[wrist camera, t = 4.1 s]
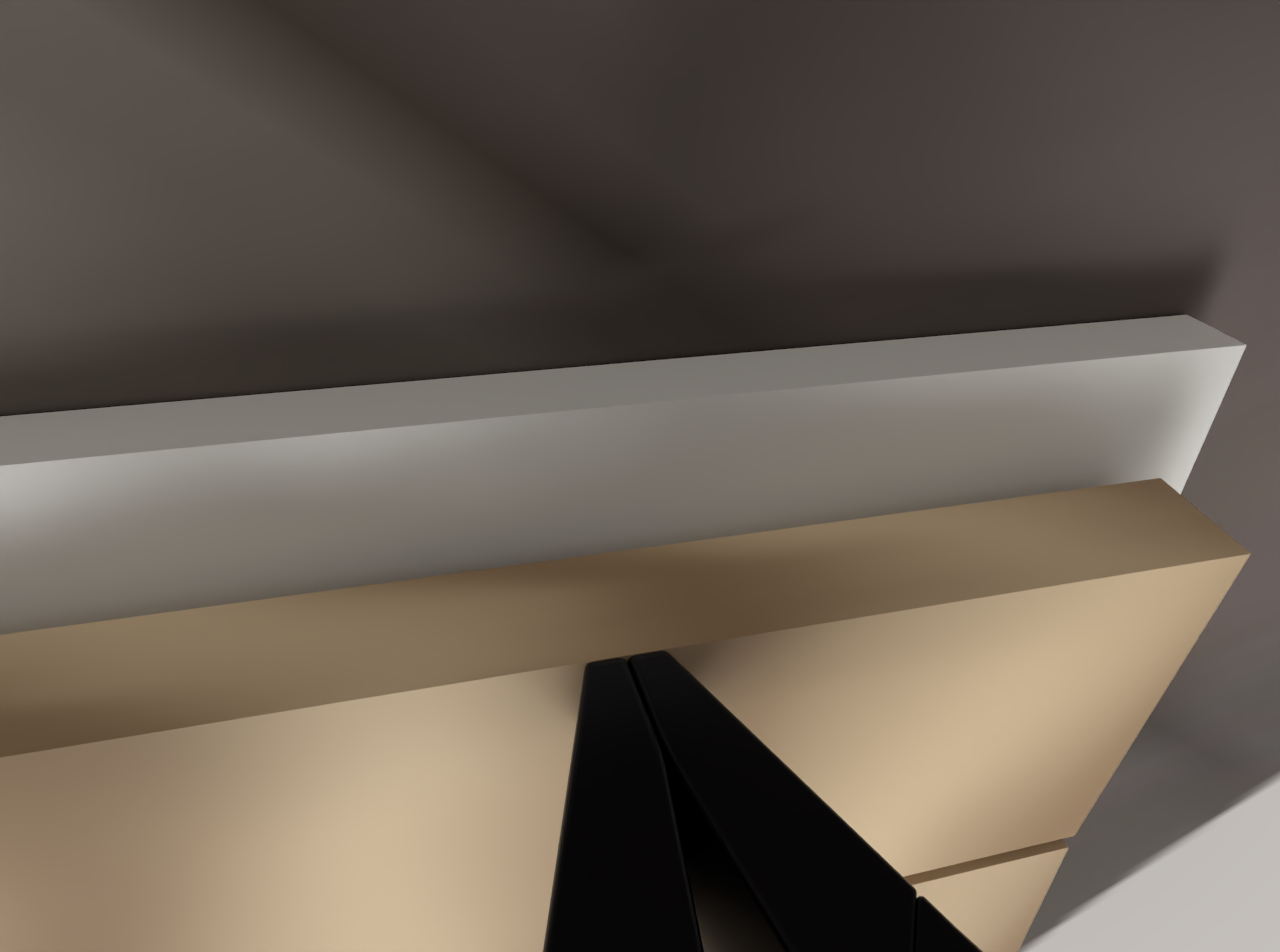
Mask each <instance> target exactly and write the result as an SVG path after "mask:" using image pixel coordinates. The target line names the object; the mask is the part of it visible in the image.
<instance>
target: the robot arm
mask: <svg viewBox="0 0 1280 952" xmlns="http://www.w3.org/2000/svg"><path fill="white" fill-rule="evenodd" d="M543 952H983V951H982V950H980V949H979V948H978V947H977V946H976V945H975V944H974V943H973V942H972V941H971V940H970V939H968V938H967V937H966V936H965V935H964V934H963V933H962V932H961V931H960V930H959V929H957V928H956V927H955V926H954V925H953V924H952V923H951V922H950V921H949V920H948V919H947V918H946V917H945V916H944V915H943V914H942V913H941V912H940V911H939V910H938V909H937V908H936V907H935V906H933V905H932V904H931V903H930V902H929V901H928V900H927V899H926V898H925V897H924V896H918V897H917V891H916V889H915V888H914V887H913V886H912V885H911V884H910V883H909V882H908V881H907V880H906V879H905V878H904V877H903V876H902V875H901V874H900V873H899V872H898V871H897V870H896V869H894V868H893V867H892V866H891V865H890V864H889V863H888V862H887V861H886V860H885V859H884V858H883V857H882V856H881V855H880V854H879V853H878V852H877V851H876V850H875V849H874V848H873V847H871V846H870V845H869V844H868V843H867V842H866V841H865V840H864V839H863V838H862V837H861V836H860V835H859V834H858V833H857V832H856V831H855V830H854V829H853V828H852V827H851V826H850V825H849V824H847V823H846V822H845V821H844V820H843V819H842V818H841V817H840V816H839V815H838V814H837V813H836V812H835V811H834V810H833V809H832V808H831V807H830V806H829V805H828V804H827V803H826V802H824V801H823V800H822V799H821V798H820V797H819V796H818V795H817V794H816V793H815V792H814V791H813V790H812V789H811V788H810V787H809V786H808V785H807V784H806V783H805V782H804V781H803V780H802V779H800V778H799V777H798V776H797V775H796V774H795V773H794V772H793V771H792V770H791V769H790V768H789V767H788V766H787V765H786V764H785V763H784V762H783V761H782V760H781V759H780V758H779V757H777V756H776V755H775V754H774V753H773V752H772V751H771V750H770V749H769V748H768V747H767V746H766V745H765V744H764V743H763V742H762V741H761V740H760V739H759V738H758V737H757V736H756V735H755V734H753V733H752V732H751V731H750V730H749V729H748V728H747V727H746V726H745V725H744V724H743V723H742V722H741V721H740V720H739V719H738V718H737V717H736V716H735V715H734V714H733V713H732V712H730V711H729V710H728V709H727V708H726V707H725V706H724V705H723V704H722V703H721V702H720V701H719V700H718V699H717V698H716V697H715V696H714V695H713V694H712V693H711V692H710V691H709V690H708V689H706V688H705V687H704V686H703V685H702V684H701V683H700V682H699V681H698V680H697V679H696V678H695V677H694V676H693V675H692V674H691V673H690V672H689V671H688V670H687V669H686V668H685V667H683V666H682V665H681V664H680V663H679V662H678V661H677V660H676V659H675V658H674V657H673V656H672V655H671V654H670V653H669V652H667V651H657V652H651V653H645V654H638V655H634V656H632V657H630V658H629V659H628V661H626V660H625V659H624V658H614V659H608V660H602V661H596V662H591V663H588V664H587V665H586V666H585V669H584V675H583V681H582V688H581V695H580V702H579V709H578V715H577V722H576V729H575V736H574V743H573V749H572V756H571V763H570V770H569V777H568V783H567V790H566V797H565V804H564V810H563V817H562V824H561V831H560V838H559V844H558V851H557V858H556V865H555V872H554V878H553V885H552V892H551V899H550V906H549V912H548V919H547V926H546V933H545V940H544V946H543Z"/></svg>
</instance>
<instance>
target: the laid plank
mask: <svg viewBox="0 0 1280 952" xmlns="http://www.w3.org/2000/svg"><path fill="white" fill-rule="evenodd" d="M1068 848H1069V847H1068V846H1067V844H1066V843H1065V841H1064V840H1063V839H1059V840H1055V841H1051V842H1046V843H1042V844H1038V845H1034V846H1030V847H1026V848H1021V849H1017V850H1013V851H1009V852H1005V853H1000V854H996V855H992V856H988V857H984V858H979V859H975V860H971V861H967V862H963V863H958V864H954V865H950V866H946V867H942V868H938V869H933V870H929V871H925V872H921V873H917V874H912V875H908V876H904V878H905V879H906V880H907V881H908V882H909V883H910V884H911V885H912V886H913V887H914V888H915V889H916V891H917V897H918V896H924V897H925V898H926V899H927V900H928V901H929V902H930V903H931V904H932V905H933V906H935V907H936V908H937V909H938V910H939V911H940V912H941V913H942V914H943V915H944V916H945V917H946V918H947V919H948V920H949V921H950V922H951V923H952V924H953V925H954V926H955V927H956V928H957V929H959V930H960V931H961V932H962V933H963V934H964V935H965V936H966V937H967V938H968V939H970V940H971V941H972V942H973V943H974V944H975V945H976V946H977V947H978V948H979V949H980V950H982V951H983V952H1018V950H1019V948H1020V946H1021V944H1022V942H1023V940H1024V938H1025V936H1026V934H1027V932H1028V930H1029V928H1030V926H1031V924H1032V922H1033V920H1034V918H1035V915H1036V913H1037V911H1038V909H1039V907H1040V905H1041V903H1042V901H1043V899H1044V897H1045V895H1046V893H1047V891H1048V889H1049V887H1050V885H1051V883H1052V881H1053V879H1054V877H1055V875H1056V872H1057V870H1058V868H1059V866H1060V864H1061V862H1062V860H1063V858H1064V856H1065V854H1066V852H1067V850H1068Z"/></svg>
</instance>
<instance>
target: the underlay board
mask: <svg viewBox="0 0 1280 952" xmlns="http://www.w3.org/2000/svg"><path fill="white" fill-rule="evenodd" d="M1245 348H1246V344H1244V343H1242V342H1240V341H1238V340H1236V339H1234V338H1232V337H1230V336H1228V335H1226V334H1224V333H1222V332H1220V331H1218V330H1216V329H1214V328H1213V327H1211V326H1209V325H1207V324H1205V323H1203V322H1201V321H1199V320H1197V319H1195V318H1193V317H1191V316H1189V315H1177V316H1165V317H1154V318H1142V319H1130V320H1119V321H1107V322H1095V323H1084V324H1072V325H1060V326H1049V327H1037V328H1025V329H1014V330H1002V331H990V332H979V333H967V334H956V335H944V336H932V337H921V338H909V339H897V340H886V341H874V342H862V343H851V344H839V345H827V346H816V347H804V348H793V349H781V350H769V351H758V352H746V353H734V354H723V355H711V356H699V357H688V358H676V359H664V360H653V361H641V362H630V363H618V364H606V365H595V366H583V367H571V368H560V369H548V370H536V371H525V372H513V373H501V374H490V375H478V376H466V377H455V378H443V379H432V380H420V381H408V382H397V383H385V384H373V385H362V386H350V387H338V388H327V389H315V390H303V391H292V392H280V393H269V394H257V395H245V396H234V397H222V398H210V399H199V400H187V401H175V402H164V403H152V404H140V405H129V406H117V407H105V408H94V409H82V410H71V411H59V412H47V413H36V414H24V415H12V416H1V417H0V635H3V634H10V633H17V632H25V631H32V630H40V629H47V628H54V627H62V626H69V625H77V624H84V623H91V622H99V621H106V620H114V619H121V618H128V617H136V616H143V615H151V614H158V613H165V612H173V611H180V610H188V609H195V608H202V607H210V606H217V605H225V604H232V603H239V602H247V601H254V600H261V599H269V598H276V597H284V596H291V595H298V594H306V593H313V592H321V591H328V590H335V589H343V588H350V587H358V586H365V585H372V584H380V583H387V582H395V581H402V580H409V579H417V578H424V577H432V576H439V575H446V574H454V573H461V572H469V571H476V570H483V569H491V568H498V567H505V566H513V565H520V564H528V563H535V562H542V561H550V560H557V559H565V558H572V557H579V556H587V555H594V554H602V553H609V552H616V551H624V550H631V549H639V548H646V547H653V546H661V545H668V544H676V543H683V542H690V541H698V540H705V539H713V538H720V537H727V536H735V535H742V534H749V533H757V532H764V531H772V530H779V529H786V528H794V527H801V526H809V525H816V524H823V523H831V522H838V521H846V520H853V519H860V518H868V517H875V516H883V515H890V514H897V513H905V512H912V511H920V510H927V509H934V508H942V507H949V506H957V505H964V504H971V503H979V502H986V501H994V500H1001V499H1008V498H1016V497H1023V496H1030V495H1038V494H1045V493H1053V492H1060V491H1067V490H1075V489H1082V488H1090V487H1097V486H1104V485H1112V484H1119V483H1127V482H1134V481H1141V480H1149V479H1156V478H1161V479H1163V480H1164V481H1165V482H1166V483H1167V484H1168V485H1170V486H1171V487H1172V488H1173V489H1174V490H1176V491H1177V492H1178V493H1179V494H1180V495H1181V492H1182V490H1183V488H1184V485H1185V483H1186V481H1187V479H1188V476H1189V474H1190V472H1191V470H1192V467H1193V465H1194V463H1195V461H1196V458H1197V456H1198V454H1199V452H1200V449H1201V447H1202V445H1203V443H1204V440H1205V438H1206V436H1207V433H1208V431H1209V429H1210V427H1211V424H1212V422H1213V420H1214V418H1215V415H1216V413H1217V411H1218V409H1219V406H1220V404H1221V402H1222V400H1223V397H1224V395H1225V393H1226V391H1227V388H1228V386H1229V384H1230V382H1231V379H1232V377H1233V375H1234V372H1235V370H1236V368H1237V366H1238V363H1239V361H1240V359H1241V357H1242V354H1243V352H1244V350H1245Z"/></svg>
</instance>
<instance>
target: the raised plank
mask: <svg viewBox="0 0 1280 952" xmlns="http://www.w3.org/2000/svg"><path fill="white" fill-rule="evenodd" d="M1249 556H1250V553H1249V552H1248V551H1247V550H1246V549H1245V548H1243V547H1242V546H1241V545H1240V544H1239V543H1237V542H1236V541H1235V540H1234V539H1233V538H1231V537H1230V536H1229V535H1228V534H1227V533H1226V532H1224V531H1223V530H1222V529H1221V528H1220V527H1218V526H1217V525H1216V524H1215V523H1214V522H1212V521H1211V520H1210V519H1209V518H1208V517H1207V516H1205V515H1204V514H1203V513H1202V512H1201V511H1199V510H1198V509H1197V508H1196V507H1195V506H1193V505H1192V504H1191V503H1190V502H1189V501H1187V500H1186V499H1185V498H1184V497H1183V496H1182V495H1180V494H1179V493H1178V492H1177V491H1176V490H1174V489H1173V488H1172V487H1171V486H1170V485H1168V484H1167V483H1166V482H1165V481H1164V480H1163V479H1161V478H1156V479H1149V480H1141V481H1134V482H1127V483H1119V484H1112V485H1104V486H1097V487H1090V488H1082V489H1075V490H1067V491H1060V492H1053V493H1045V494H1038V495H1030V496H1023V497H1016V498H1008V499H1001V500H994V501H986V502H979V503H971V504H964V505H957V506H949V507H942V508H934V509H927V510H920V511H912V512H905V513H897V514H890V515H883V516H875V517H868V518H860V519H853V520H846V521H838V522H831V523H823V524H816V525H809V526H801V527H794V528H786V529H779V530H772V531H764V532H757V533H749V534H742V535H735V536H727V537H720V538H713V539H705V540H698V541H690V542H683V543H676V544H668V545H661V546H653V547H646V548H639V549H631V550H624V551H616V552H609V553H602V554H594V555H587V556H579V557H572V558H565V559H557V560H550V561H542V562H535V563H528V564H520V565H513V566H505V567H498V568H491V569H483V570H476V571H469V572H461V573H454V574H446V575H439V576H432V577H424V578H417V579H409V580H402V581H395V582H387V583H380V584H372V585H365V586H358V587H350V588H343V589H335V590H328V591H321V592H313V593H306V594H298V595H291V596H284V597H276V598H269V599H261V600H254V601H247V602H239V603H232V604H225V605H217V606H210V607H202V608H195V609H188V610H180V611H173V612H165V613H158V614H151V615H143V616H136V617H128V618H121V619H114V620H106V621H99V622H91V623H84V624H77V625H69V626H62V627H54V628H47V629H40V630H32V631H25V632H17V633H10V634H3V635H0V952H543V946H544V940H545V933H546V926H547V919H548V912H549V906H550V899H551V892H552V885H553V878H554V872H555V865H556V858H557V851H558V844H559V838H560V831H561V824H562V817H563V810H564V804H565V797H566V790H567V783H568V777H569V770H570V763H571V756H572V749H573V743H574V736H575V729H576V722H577V715H578V709H579V702H580V695H581V688H582V681H583V675H584V669H585V666H586V665H587V664H588V663H591V662H596V661H602V660H608V659H614V658H624V659H625V660H626V661H628V659H629V658H630V657H632V656H634V655H638V654H645V653H651V652H657V651H667V652H669V653H670V654H671V655H672V656H673V657H674V658H675V659H676V660H677V661H678V662H679V663H680V664H681V665H682V666H683V667H685V668H686V669H687V670H688V671H689V672H690V673H691V674H692V675H693V676H694V677H695V678H696V679H697V680H698V681H699V682H700V683H701V684H702V685H703V686H704V687H705V688H706V689H708V690H709V691H710V692H711V693H712V694H713V695H714V696H715V697H716V698H717V699H718V700H719V701H720V702H721V703H722V704H723V705H724V706H725V707H726V708H727V709H728V710H729V711H730V712H732V713H733V714H734V715H735V716H736V717H737V718H738V719H739V720H740V721H741V722H742V723H743V724H744V725H745V726H746V727H747V728H748V729H749V730H750V731H751V732H752V733H753V734H755V735H756V736H757V737H758V738H759V739H760V740H761V741H762V742H763V743H764V744H765V745H766V746H767V747H768V748H769V749H770V750H771V751H772V752H773V753H774V754H775V755H776V756H777V757H779V758H780V759H781V760H782V761H783V762H784V763H785V764H786V765H787V766H788V767H789V768H790V769H791V770H792V771H793V772H794V773H795V774H796V775H797V776H798V777H799V778H800V779H802V780H803V781H804V782H805V783H806V784H807V785H808V786H809V787H810V788H811V789H812V790H813V791H814V792H815V793H816V794H817V795H818V796H819V797H820V798H821V799H822V800H823V801H824V802H826V803H827V804H828V805H829V806H830V807H831V808H832V809H833V810H834V811H835V812H836V813H837V814H838V815H839V816H840V817H841V818H842V819H843V820H844V821H845V822H846V823H847V824H849V825H850V826H851V827H852V828H853V829H854V830H855V831H856V832H857V833H858V834H859V835H860V836H861V837H862V838H863V839H864V840H865V841H866V842H867V843H868V844H869V845H870V846H871V847H873V848H874V849H875V850H876V851H877V852H878V853H879V854H880V855H881V856H882V857H883V858H884V859H885V860H886V861H887V862H888V863H889V864H890V865H891V866H892V867H893V868H894V869H896V870H897V871H898V872H899V873H900V874H901V875H902V876H903V877H904V876H908V875H912V874H917V873H921V872H925V871H929V870H933V869H938V868H942V867H946V866H950V865H954V864H958V863H963V862H967V861H971V860H975V859H979V858H984V857H988V856H992V855H996V854H1000V853H1005V852H1009V851H1013V850H1017V849H1021V848H1026V847H1030V846H1034V845H1038V844H1042V843H1046V842H1051V841H1055V840H1059V839H1063V838H1067V837H1072V836H1075V834H1076V832H1077V831H1078V829H1079V828H1080V826H1081V824H1082V823H1083V821H1084V820H1085V818H1086V816H1087V815H1088V813H1089V812H1090V810H1091V808H1092V807H1093V805H1094V804H1095V802H1096V800H1097V799H1098V797H1099V796H1100V794H1101V792H1102V791H1103V789H1104V788H1105V786H1106V784H1107V783H1108V781H1109V780H1110V778H1111V776H1112V775H1113V773H1114V772H1115V770H1116V769H1117V767H1118V765H1119V764H1120V762H1121V761H1122V759H1123V757H1124V756H1125V754H1126V753H1127V751H1128V749H1129V748H1130V746H1131V745H1132V743H1133V741H1134V740H1135V738H1136V737H1137V735H1138V733H1139V732H1140V730H1141V729H1142V727H1143V725H1144V724H1145V722H1146V721H1147V719H1148V717H1149V716H1150V714H1151V713H1152V711H1153V709H1154V708H1155V706H1156V705H1157V703H1158V701H1159V700H1160V698H1161V697H1162V695H1163V693H1164V692H1165V690H1166V689H1167V687H1168V685H1169V684H1170V682H1171V681H1172V679H1173V677H1174V676H1175V674H1176V673H1177V671H1178V669H1179V668H1180V666H1181V665H1182V663H1183V661H1184V660H1185V658H1186V657H1187V655H1188V653H1189V652H1190V650H1191V649H1192V647H1193V645H1194V644H1195V642H1196V641H1197V639H1198V637H1199V636H1200V634H1201V633H1202V631H1203V629H1204V628H1205V626H1206V625H1207V623H1208V621H1209V620H1210V618H1211V617H1212V615H1213V613H1214V612H1215V610H1216V609H1217V607H1218V605H1219V604H1220V602H1221V601H1222V599H1223V597H1224V596H1225V594H1226V593H1227V591H1228V589H1229V588H1230V586H1231V585H1232V583H1233V581H1234V580H1235V578H1236V577H1237V575H1238V573H1239V572H1240V570H1241V569H1242V567H1243V565H1244V564H1245V562H1246V561H1247V559H1248V557H1249Z"/></svg>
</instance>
